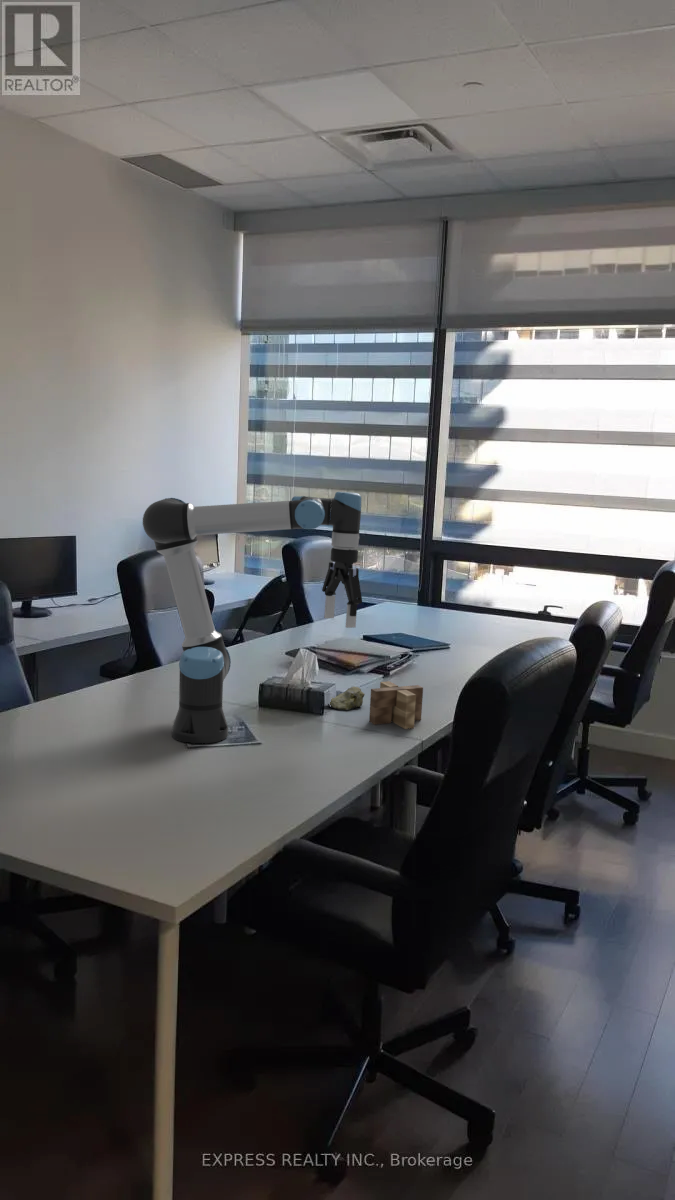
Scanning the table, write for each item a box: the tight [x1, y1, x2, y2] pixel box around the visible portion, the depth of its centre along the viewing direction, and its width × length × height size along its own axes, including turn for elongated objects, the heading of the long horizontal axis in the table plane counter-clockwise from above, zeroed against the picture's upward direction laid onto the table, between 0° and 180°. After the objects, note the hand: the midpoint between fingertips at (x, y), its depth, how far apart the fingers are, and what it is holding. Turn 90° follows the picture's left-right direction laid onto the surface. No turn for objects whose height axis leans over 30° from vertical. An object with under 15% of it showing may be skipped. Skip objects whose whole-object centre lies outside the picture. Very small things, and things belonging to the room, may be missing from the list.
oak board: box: [379, 680, 416, 730], centre depth 268 cm, size 3×16×10 cm, turn 26°
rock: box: [330, 686, 366, 711], centre depth 281 cm, size 11×6×10 cm
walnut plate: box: [368, 684, 424, 726], centre depth 267 cm, size 16×3×10 cm, turn 116°
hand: (339, 622), depth 255 cm, fingers open, 13 cm apart
